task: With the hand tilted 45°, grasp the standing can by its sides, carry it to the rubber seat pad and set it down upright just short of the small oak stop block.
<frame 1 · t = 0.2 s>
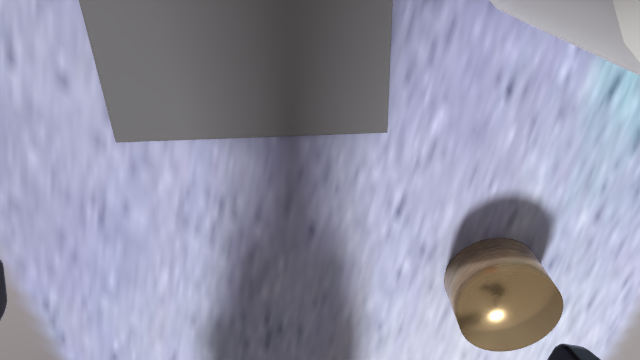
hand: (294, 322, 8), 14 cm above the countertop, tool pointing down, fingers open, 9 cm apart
old spacer: (489, 274, 26), on the countertop
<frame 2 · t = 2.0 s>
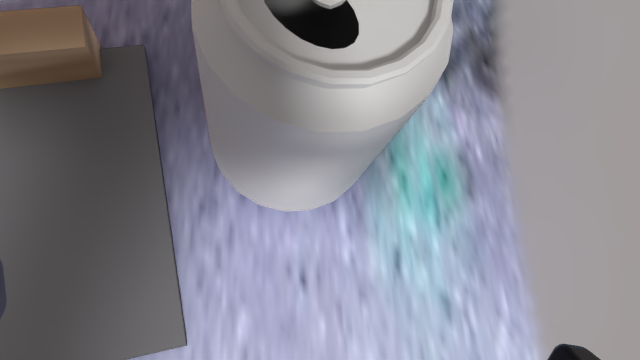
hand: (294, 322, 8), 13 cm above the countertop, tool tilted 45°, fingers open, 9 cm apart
seat pad: (16, 186, 20), on the countertop
can: (288, 142, 23), on the countertop
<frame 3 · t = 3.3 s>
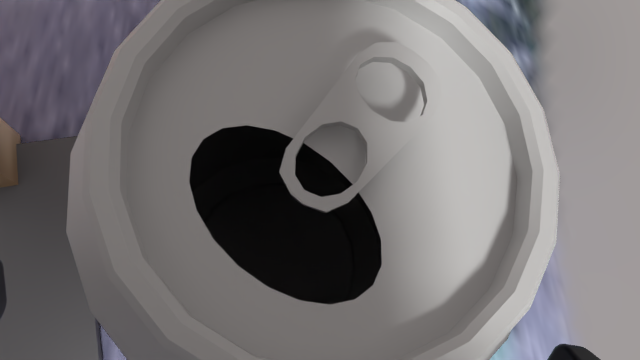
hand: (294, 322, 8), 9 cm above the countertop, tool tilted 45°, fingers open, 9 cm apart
can: (273, 263, 17), on the countertop
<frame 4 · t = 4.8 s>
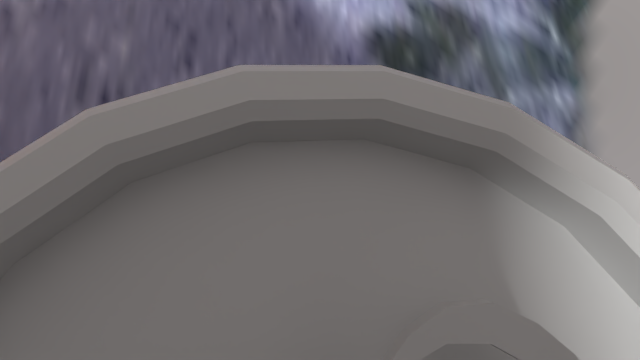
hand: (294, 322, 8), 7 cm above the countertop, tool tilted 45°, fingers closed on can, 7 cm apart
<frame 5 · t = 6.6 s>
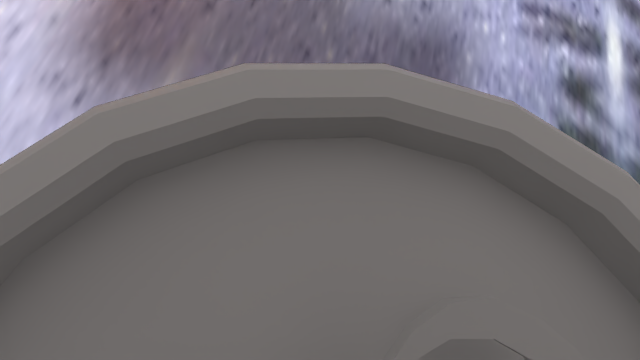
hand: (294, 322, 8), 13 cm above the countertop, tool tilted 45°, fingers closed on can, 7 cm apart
when the fingers open (8 cm above the countertop, at t = 8.8 s): can stays where it is, resting on seat pad.
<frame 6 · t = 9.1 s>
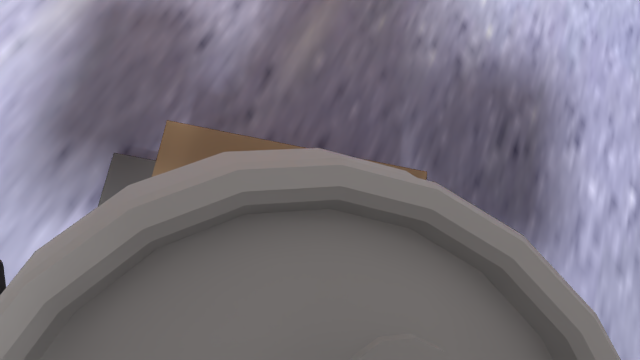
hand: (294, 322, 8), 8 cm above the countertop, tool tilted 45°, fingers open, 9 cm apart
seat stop: (290, 191, 15), resting on seat pad
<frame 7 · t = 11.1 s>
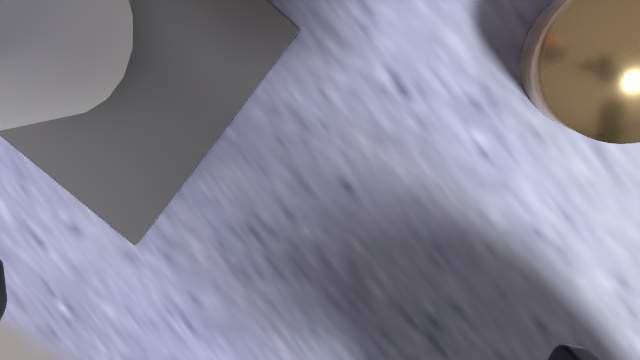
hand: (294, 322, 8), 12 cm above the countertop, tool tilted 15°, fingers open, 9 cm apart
seat pad: (61, 18, 19), on the countertop
can: (62, 21, 19), resting on seat pad
old spacer: (593, 57, 17), on the countertop
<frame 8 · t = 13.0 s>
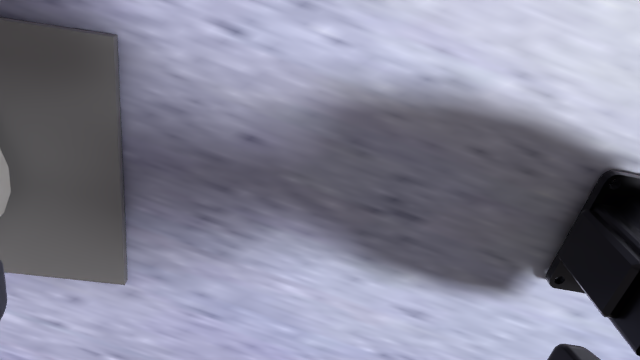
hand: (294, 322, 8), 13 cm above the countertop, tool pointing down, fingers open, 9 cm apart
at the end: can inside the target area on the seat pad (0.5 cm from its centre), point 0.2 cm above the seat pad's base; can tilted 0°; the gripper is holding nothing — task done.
